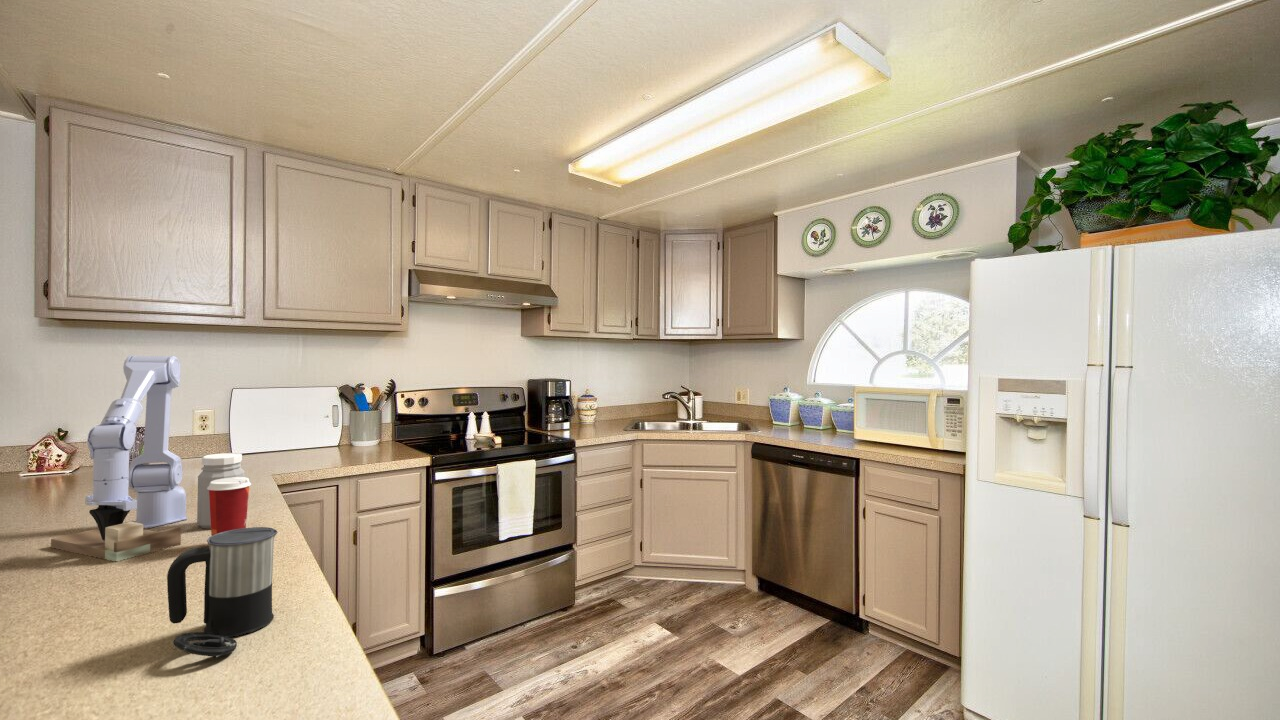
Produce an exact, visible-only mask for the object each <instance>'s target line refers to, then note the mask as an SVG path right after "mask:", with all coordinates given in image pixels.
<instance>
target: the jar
mask: <svg viewBox="0 0 1280 720" xmlns="http://www.w3.org/2000/svg"><path fill="white" fill-rule="evenodd" d="M242 461H243V453H238V452H225V453H214V454H207V455H204V456H203V457H201V465H203V467H201V468H200V469H201V470H202V471H201V472H200V473H199V475H198V476H197V500H196V501H197V503H196V505H197V509H196V510H197V512H196V523H197V524H196V525H199V527H200V528H202V529H208V530H209V529H210V530H211V520H210V501H209V490H208V489H207V488H208V487H209V485H210V482H211V481H214V480H217V479H223V478H232V477H246V471H245V470H244V469H243V468H242V464H241V462H242Z"/></svg>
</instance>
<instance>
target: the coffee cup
mask: <svg viewBox="0 0 1280 720" xmlns="http://www.w3.org/2000/svg"><path fill="white" fill-rule="evenodd" d="M251 485H252V483H251V482H250V479H249V477H246V476H245V477H232V478H223V479H217V480H214V481H211V482H210V485H209V487H208V488H207V489H208V490H209V501H210V520H211V529H210V533H211V536H212V535H215V534H218V533H222V532H225V531H230V530H235V529H242V528H247V518H248V509H249V508H248V506H249V495H250V486H251Z"/></svg>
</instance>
